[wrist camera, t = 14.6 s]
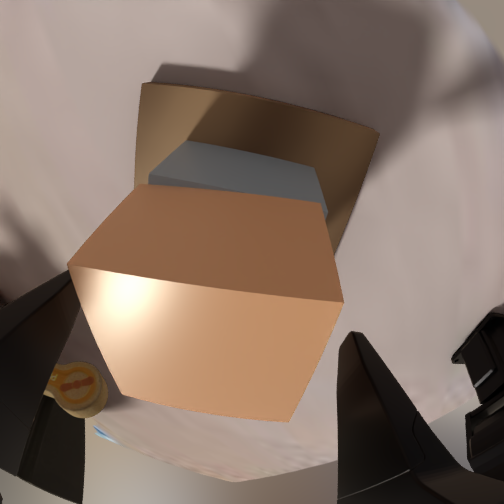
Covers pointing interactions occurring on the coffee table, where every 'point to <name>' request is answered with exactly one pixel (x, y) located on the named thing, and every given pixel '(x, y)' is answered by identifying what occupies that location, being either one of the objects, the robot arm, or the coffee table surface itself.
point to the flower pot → (55, 452)
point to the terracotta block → (211, 298)
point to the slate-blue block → (237, 173)
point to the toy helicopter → (78, 389)
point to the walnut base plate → (257, 138)
